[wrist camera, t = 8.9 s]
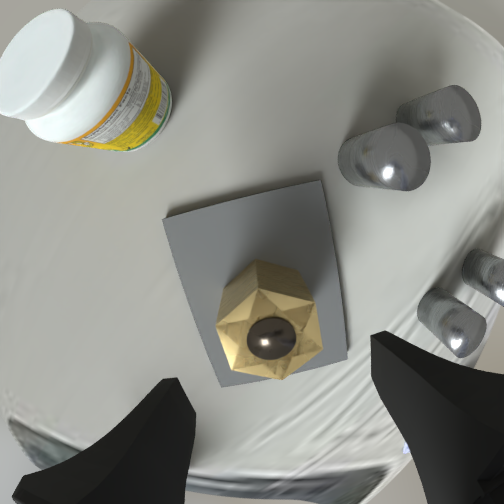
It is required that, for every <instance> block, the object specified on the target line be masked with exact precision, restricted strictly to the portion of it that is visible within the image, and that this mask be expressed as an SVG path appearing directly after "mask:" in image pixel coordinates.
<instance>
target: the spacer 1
mask: <svg viewBox="0 0 504 504" xmlns="http://www.w3.org/2000/svg"><path fill="white" fill-rule="evenodd" d="M430 163H431V160H430V152H429V148H428V146H427V143H426V141H425V140H424V138H423V137H422V135H421V134H420V133H419V132H418V131H417V130H416V129H415V128H413V127H412V126H410V125H408V124H404V123H393V124H390V125H387V126H384V127H381V128H378V129H375V130H372V131H370V132H367V133H364V134H361V135H359V136H356V137H353V138H350V139H349V140H347V141H346V142H345V143H344V144H343V145H342V146H341V148H340V151H339V154H338V165H339V169H340V171H341V173H342V175H343V176H344V178H345V179H346V180H347V181H349V182H350V183H352V184H354V185H356V186H361V187H372V188H382V189H392V190H401V191H411V190H414V189H416V188H418V187H420V186H421V185H422V184H423V183H424V181H425V180H426V178H427V176H428V174H429V170H430Z"/></svg>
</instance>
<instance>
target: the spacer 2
mask: <svg viewBox="0 0 504 504" xmlns="http://www.w3.org/2000/svg"><path fill="white" fill-rule="evenodd" d="M396 123H404V124H408V125H410V126H412V127H413V128H415V129H416V130H417V131H418V132H419V133H420V134H421V135H422V137H423V138H424V140H425V141H426V143H427V146H431V145H439V144H449V143H459V142H470V141H474V140H475V139H476V138H477V137H478V136H479V134H480V130H481V117H480V112H479V109H478V107H477V104H476V102H475V101H474V99H473V98H472V96H471V95H470V94H469V93H468V92H467V91H466V90H465V89H463V88H462V87H460V86H457V85H451V86H448V87H446V88H443V89H440V90H438V91H435V92H432V93H430V94H427V95H425V96H422V97H420V98H417V99H415V100H412V101H410V102H408V103H405V104H403V105H402V106H400V108H399V109H398V111H397V114H396Z"/></svg>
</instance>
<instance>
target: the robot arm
mask: <svg viewBox="0 0 504 504" xmlns="http://www.w3.org/2000/svg"><path fill="white" fill-rule="evenodd" d="M370 338H371V377H372V379H373V382H374V384H375V387H376V389H377V391H378V394H379V396H380V398H381V400H382V402H383V403H384V405H385V407H386V408H387V410H388V412H389V413H390V415H391V417H392V419H393V420H394V422H395V424H396V425H397V427H398V429H399V430H400V432H401V434H402V436H403V437H404V439H405V444H404V448H403V453H404V454H406V453H408V452H411V455H412V457H413V460H414V462H415V465H416V468H417V470H418V473H419V476H420V479H421V482H422V485H423V488H424V492H425V496H426V499H427V503H428V504H504V374H498V373H492V372H485V371H481V370H477V369H473V368H470V367H466V366H463V365H459V364H456V363H453V362H451V361H448V360H446V359H443V358H441V357H438V356H436V355H434V354H431V353H429V352H427V351H425V350H423V349H421V348H419V347H417V346H415V345H413V344H411V343H409V342H407V341H405V340H403V339H401V338H399V337H397V336H395V335H394V334H392V333H390V332H388V331H382V332H379V333H376V334H373V335H370ZM195 428H196V412H195V411H194V409H193V407H192V405H191V403H190V401H189V399H188V398H187V396H186V394H185V392H184V390H183V388H182V386H181V384H180V382H179V380H178V378H177V377H176V378H167V379H162V380H161V381H160V382H159V383H158V384H157V385H156V386H155V387H154V388H153V389H152V390H151V391H150V392H149V394H148V395H147V396H146V397H145V398H144V399H143V400H142V401H141V402H140V403H139V404H138V405H137V406H136V407H135V408H134V409H133V410H132V411H131V412H130V413H129V414H128V415H127V416H126V417H125V418H124V419H123V420H122V421H121V422H120V423H119V424H118V425H117V426H116V427H114V428H113V429H112V430H111V431H110V432H109V433H107V434H106V435H105V436H104V437H102V438H101V439H100V440H98V441H97V442H96V443H94V444H93V445H92V446H90V447H88V448H87V449H85V450H84V451H82V452H80V453H79V454H77V455H75V456H74V457H72V458H70V459H68V460H66V461H64V462H62V463H60V464H57V465H55V466H52V467H50V468H47V469H44V470H41V471H38V472H35V473H31V474H28V475H24V476H23V477H22V479H21V481H20V482H19V484H18V486H17V488H16V489H15V491H14V493H13V495H12V498H13V500H14V501H15V502H16V503H17V504H184V502H185V487H186V479H187V474H188V469H189V464H190V459H191V454H192V449H193V444H194V438H195Z"/></svg>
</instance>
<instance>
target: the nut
mask: <svg viewBox="0 0 504 504" xmlns="http://www.w3.org/2000/svg"><path fill="white" fill-rule="evenodd" d="M215 326H216V329H217V332H218V335H219V337H220V340H221V343H222V346H223V348H224V351H225V354H226V357H227V359H228V362H229V365H230V367H231V370H234V371H238V372H243V373H248V374H253V375H258V376H263V377H268V378H274V379H279V380H283V379H284V378H286V377H287V376H289V375H290V374H291V373H293V372H294V371H295V370H297V369H298V368H299V367H301V366H302V365H303V364H305V363H306V362H307V361H309V360H310V359H311V358H313V357H314V356H315V355H317V354H318V353H319V352H320V351H322V350H323V345H322V339H321V333H320V327H319V321H318V315H317V309H316V303H315V301H314V299H313V297H312V295H311V293H310V291H309V289H308V288H307V286H306V284H305V282H304V280H303V278H302V276H301V275H300V273H299V271H298V270H295V269H291V268H288V267H284V266H280V265H276V264H273V263H269V262H265V261H262V260H258V259H255V260H253V261H252V262H251V263H250V264H249V265H248V266H247V267H246V268H245V269H244V270H243V271H242V272H241V273H240V274H238V275H237V276H236V277H235V278H234V279H233V280H232V281H231V282H230V283H229V284H228V285H227V286H226V287H224V288H223V293H222V297H221V302H220V306H219V311H218V316H217V320H216V325H215Z"/></svg>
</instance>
